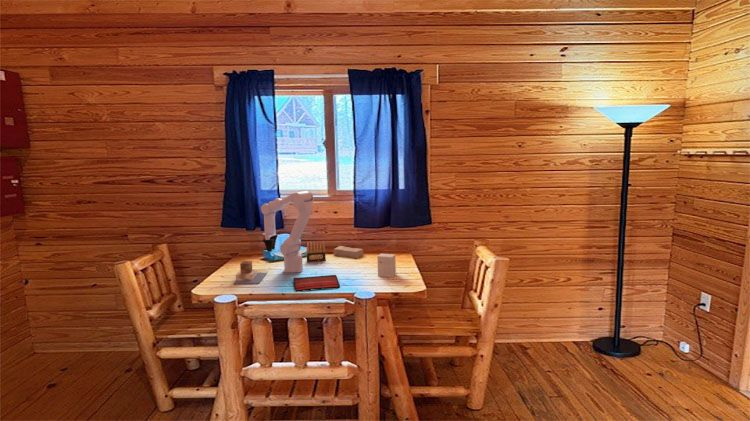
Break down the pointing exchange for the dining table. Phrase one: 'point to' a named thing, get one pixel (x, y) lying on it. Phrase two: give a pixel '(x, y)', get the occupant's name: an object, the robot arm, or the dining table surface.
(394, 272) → the small box
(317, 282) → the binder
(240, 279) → the board
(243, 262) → the walnut block
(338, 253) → the brick
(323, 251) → the ammunition clip
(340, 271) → the dining table surface
